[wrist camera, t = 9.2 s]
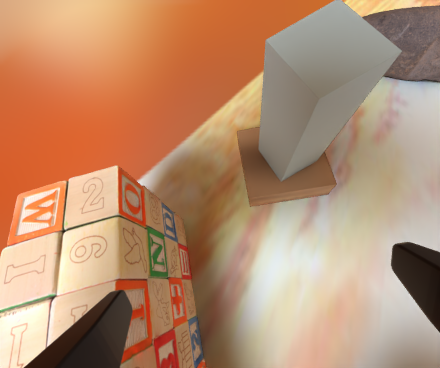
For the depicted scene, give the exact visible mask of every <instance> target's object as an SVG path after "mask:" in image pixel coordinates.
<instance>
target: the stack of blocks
mask: <svg viewBox="0 0 440 368" xmlns="http://www.w3.org/2000/svg"><path fill="white" fill-rule="evenodd" d="M7 245H8V247H6V248H4V249H3V251H2V253H1V258H0V368H24V367H25V366H26V365H27V364H28V363H29V362H31V361H32V360H33V359H34V358H35V357H36V356H37V355H39V354H40V353H41V352H42V351H43V350H44V349H45V348H47V347H48V346H49V345H50V344H51V343H52V342H53V341H55V340H56V339H57V338H58V337H59V336H60V335H61V334H63V333H64V332H65V331H66V330H67V329H68V328H70V327H71V326H72V325H73V324H74V323H75V322H76V321H78V320H79V319H80V318H81V317H82V316H83V315H84V314H86V313H87V312H88V311H89V310H90V309H91V308H92V307H94V306H95V305H96V304H97V303H98V302H99V301H100V300H102V299H103V298H104V297H105V296H106V295H107V294H108V293H110V292H111V291H116V290H124V291H125V292H126V294H127V297H128V299H129V301H130V303H131V305H132V309H133V312H132V318H131V322H130V327H129V331H128V335H127V340H126V344H125V349H124V353H123V357H122V361H121V365H120V368H206V364H205V359H204V358H203V350H202V344H201V338H200V331H199V325H198V318H197V315H196V307H195V300H194V294H193V287H192V282H191V279H192V276H191V269H190V263H189V256H188V250H187V241H186V235H185V228H184V222H183V219H181V218H180V217H179V216H178V215H177V214H176V213H174V212H172V211H171V210H170V209H169V208H168V207H167V206H165V205H164V204H163V203H162V202H161V201H160V199H159V198H157V197H156V196H155V195H154V194H153V193H152V192H151V191H149V190H148V189H147V188H146V187H145V186H141V185H140V184H139V183H138V182H137V181H136V180H135V179H133V178H132V177H131V176H130V175H129V174H128V173H127V172H125V171H124V170H123V169H122V168H120V167H119V166H113V167H110V168H107V169H103V170H99V171H96V172H92V173H89V174H85V175H81V176H77V177H74V178H70V179H69V182H68V181H61V182H57V183H54V184H51V185H47V186H44V187H41V188H37V189H34V190H31V191H28V192H25V193H22V194H19V195H18V197H17V201H16V206H15V211H14V216H13V221H12V224H11V228H10V234H9V238H8V242H7Z"/></svg>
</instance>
